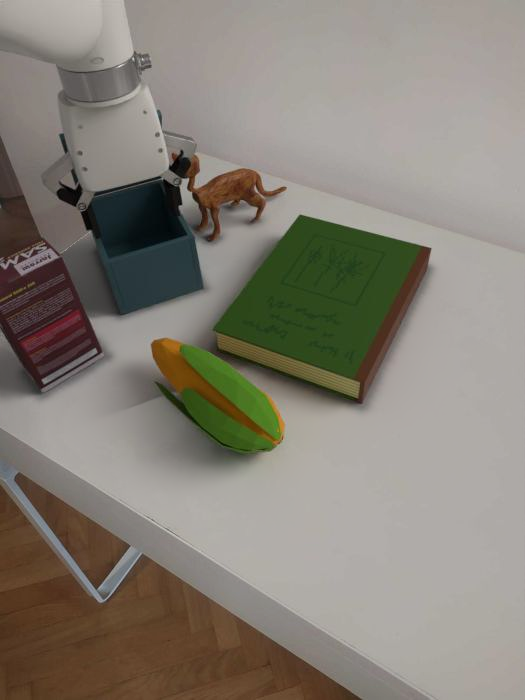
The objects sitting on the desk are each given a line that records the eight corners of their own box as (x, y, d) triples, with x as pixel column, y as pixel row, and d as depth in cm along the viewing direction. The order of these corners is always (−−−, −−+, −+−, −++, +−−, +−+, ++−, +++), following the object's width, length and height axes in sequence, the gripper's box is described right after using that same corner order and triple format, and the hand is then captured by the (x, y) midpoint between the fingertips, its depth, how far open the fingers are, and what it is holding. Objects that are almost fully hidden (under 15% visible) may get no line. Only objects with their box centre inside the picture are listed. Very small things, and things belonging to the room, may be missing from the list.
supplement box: (86, 336, 72) (43, 234, 61) (106, 357, 70) (64, 255, 58) (23, 372, 69) (-36, 271, 57) (41, 396, 66) (-17, 296, 55)
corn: (247, 443, 52) (117, 335, 61) (249, 487, 57) (129, 381, 67) (302, 397, 55) (170, 302, 65) (299, 443, 61) (178, 349, 71)
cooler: (203, 288, 77) (194, 236, 71) (121, 315, 75) (103, 263, 68) (172, 229, 86) (161, 178, 80) (98, 252, 84) (80, 201, 77)
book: (362, 403, 63) (364, 382, 60) (215, 350, 70) (212, 329, 67) (428, 266, 77) (433, 244, 75) (302, 232, 84) (302, 211, 81)
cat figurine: (274, 185, 92) (270, 101, 82) (300, 203, 89) (299, 118, 78) (179, 231, 86) (161, 146, 76) (202, 252, 82) (188, 166, 72)
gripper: (172, 46, 61) (194, 188, 74) (5, 80, 57) (58, 224, 70) (194, 72, 56) (213, 219, 69) (14, 111, 52) (69, 259, 65)
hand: (135, 221), depth 69 cm, fingers open, 9 cm apart
